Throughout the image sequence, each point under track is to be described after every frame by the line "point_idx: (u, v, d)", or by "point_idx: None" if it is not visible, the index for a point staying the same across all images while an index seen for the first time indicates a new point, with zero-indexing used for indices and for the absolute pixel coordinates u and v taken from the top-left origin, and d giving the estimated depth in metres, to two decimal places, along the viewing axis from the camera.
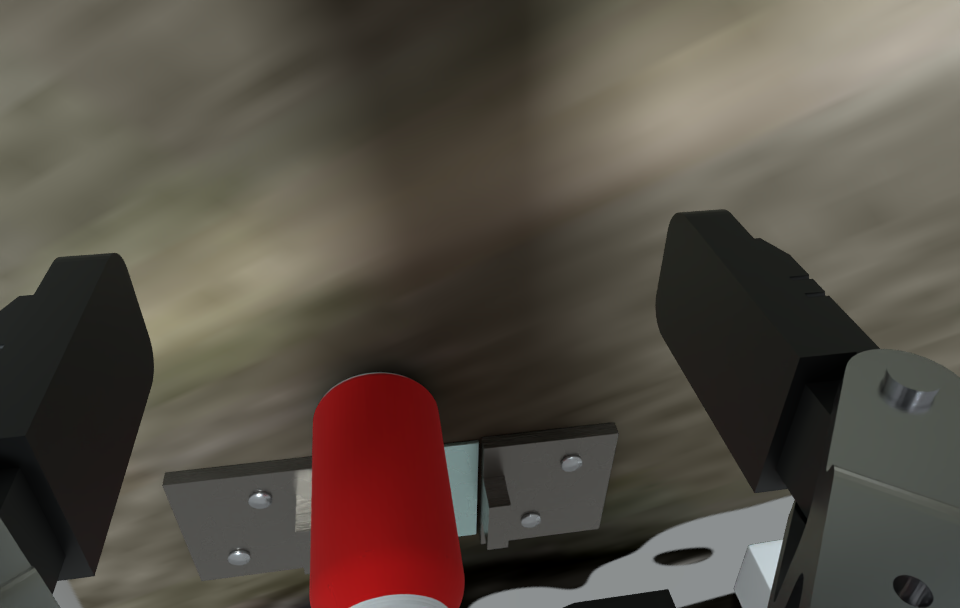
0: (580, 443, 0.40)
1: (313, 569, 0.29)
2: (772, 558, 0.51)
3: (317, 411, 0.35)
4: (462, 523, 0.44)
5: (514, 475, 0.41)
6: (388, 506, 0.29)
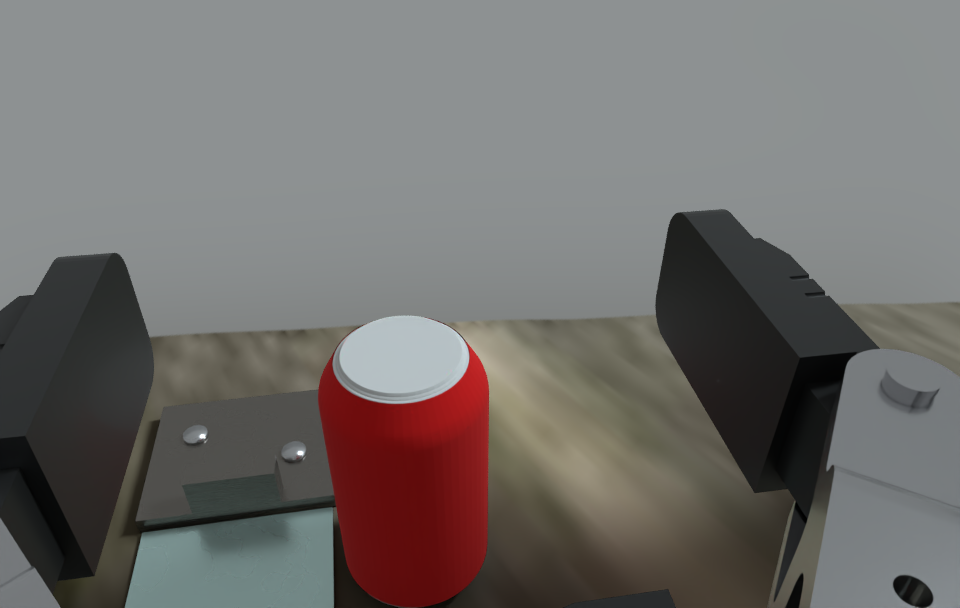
0: None
1: None
2: None
3: None
4: None
5: None
6: None
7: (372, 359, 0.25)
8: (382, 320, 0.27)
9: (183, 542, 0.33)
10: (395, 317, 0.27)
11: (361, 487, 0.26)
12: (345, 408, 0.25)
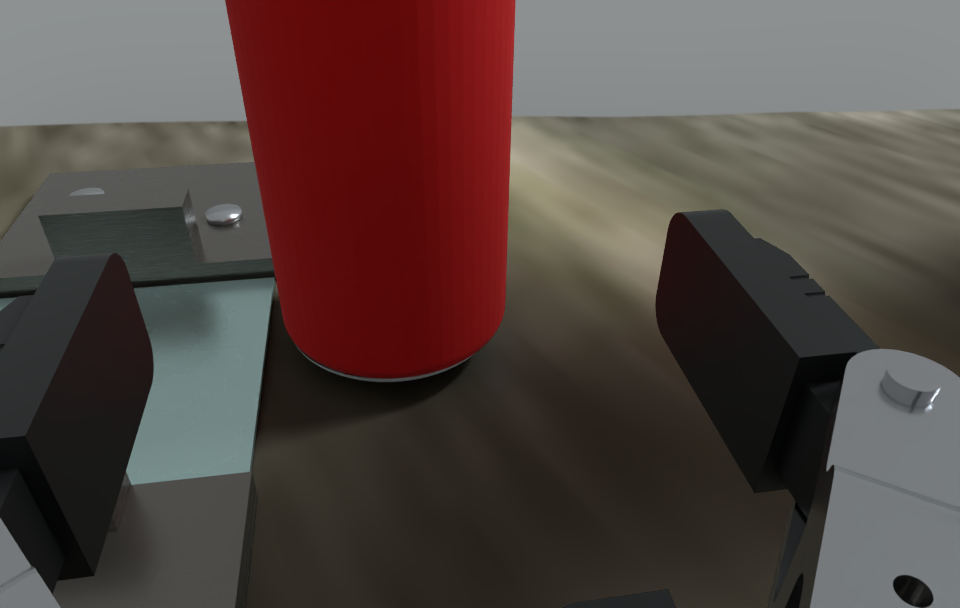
0: None
1: None
2: None
3: None
4: None
5: (104, 556, 0.14)
6: None
7: None
8: None
9: None
10: None
11: (289, 94, 0.15)
12: None
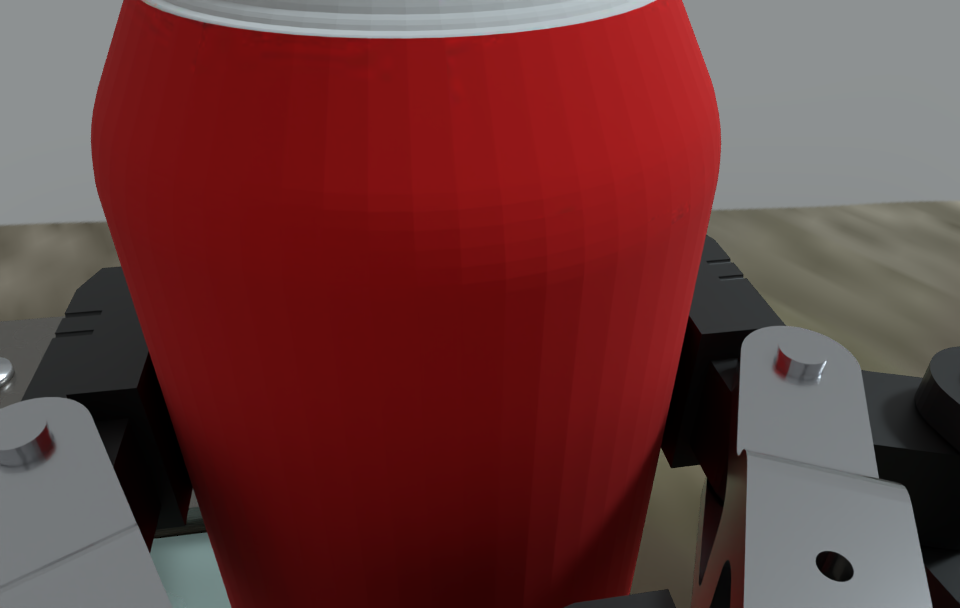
0: None
1: None
2: None
3: None
4: None
5: None
6: None
7: None
8: None
9: None
10: None
11: (248, 462, 0.07)
12: (154, 97, 0.05)
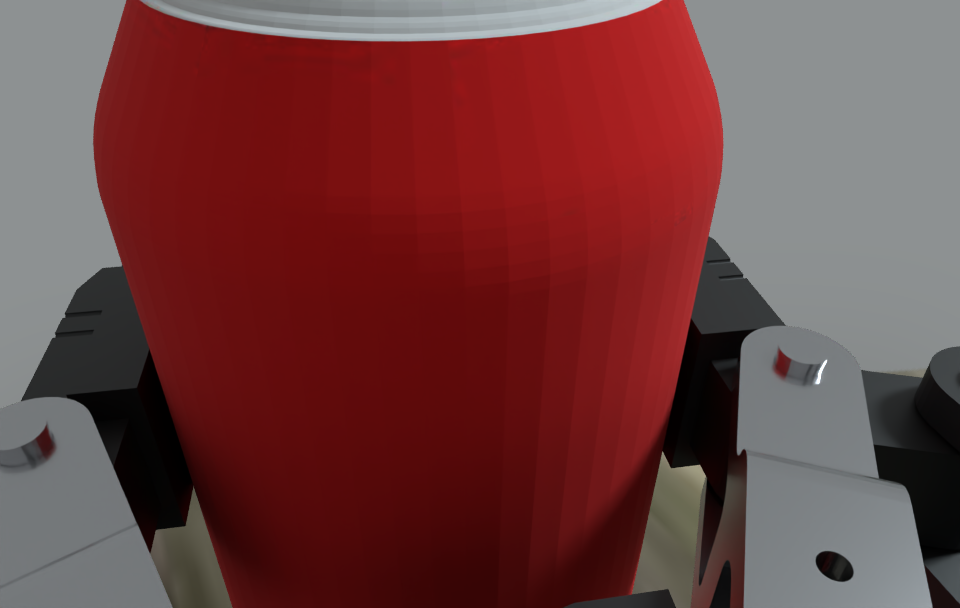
0: None
1: None
2: None
3: None
4: None
5: None
6: None
7: None
8: None
9: None
10: None
11: (250, 464, 0.07)
12: (156, 99, 0.05)
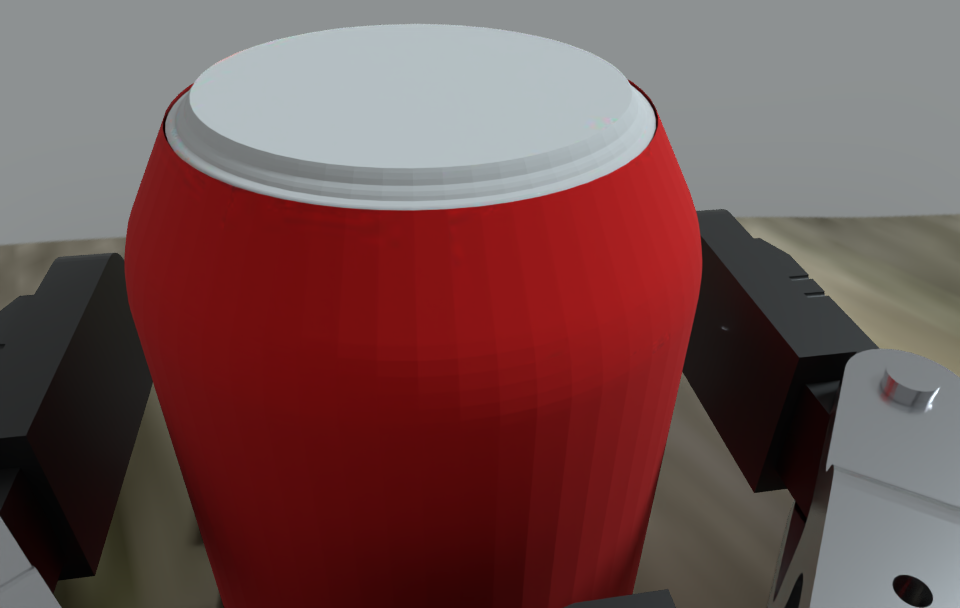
0: None
1: None
2: None
3: None
4: None
5: None
6: None
7: (311, 90, 0.07)
8: (358, 28, 0.09)
9: None
10: (399, 26, 0.09)
11: (263, 554, 0.07)
12: (186, 244, 0.06)
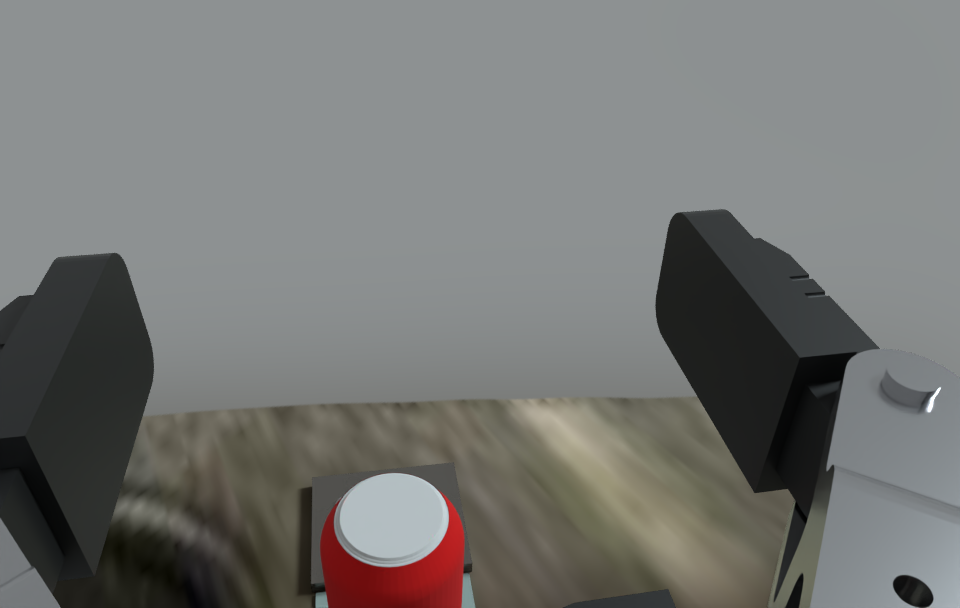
0: None
1: None
2: None
3: None
4: None
5: None
6: None
7: (367, 521, 0.30)
8: (377, 478, 0.32)
9: None
10: (388, 475, 0.32)
11: None
12: (343, 565, 0.30)
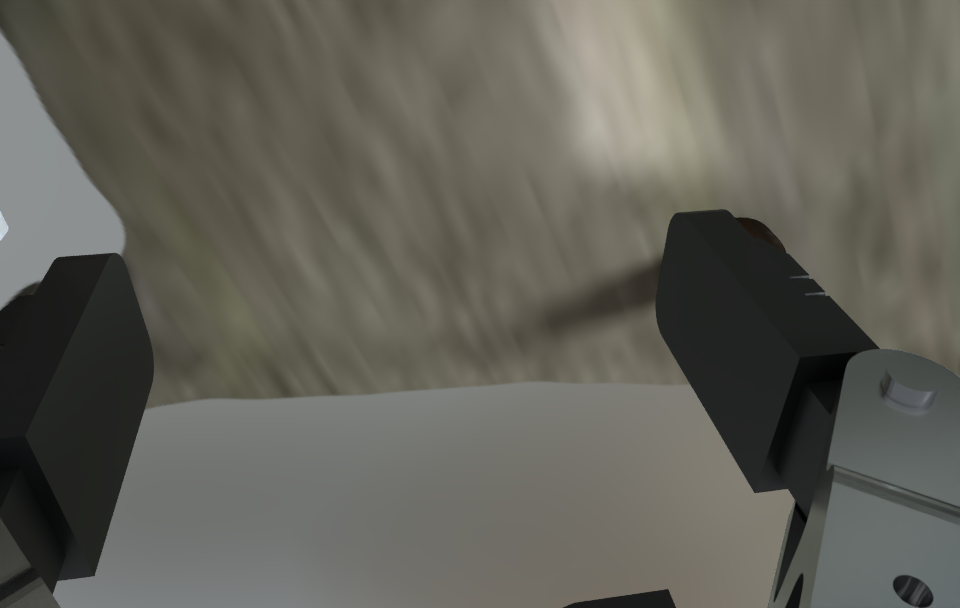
0: None
1: None
2: None
3: None
4: None
5: None
6: None
7: None
8: None
9: None
10: None
11: None
12: None
